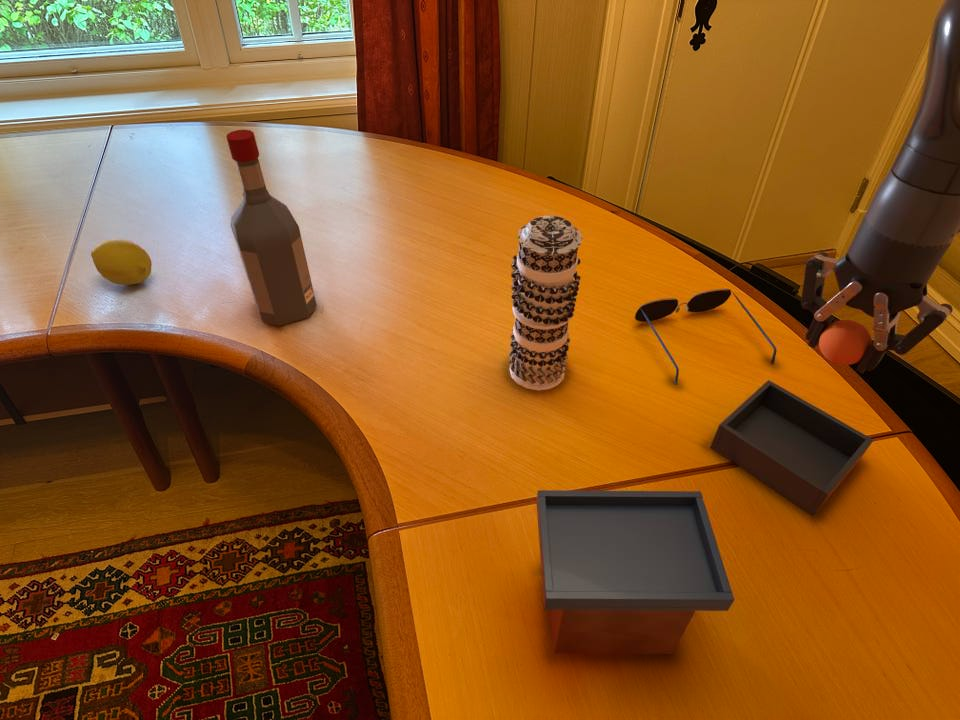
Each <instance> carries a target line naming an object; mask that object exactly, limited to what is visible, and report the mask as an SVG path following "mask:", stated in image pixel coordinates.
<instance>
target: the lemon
mask: <svg viewBox="0 0 960 720" xmlns="http://www.w3.org/2000/svg"><path fill="white" fill-rule="evenodd" d="M90 256H91V258H92V261H93V264H94V266H95V268H96V271H97V272H98V273H99V274H100V275H101V276H102V277H103V278H104V279H105V280H107V281H109V282H110V283H114V284H117V285H121V286H133V285H136V284H140V283H141V284H142V283H143V282H145V281H146V280H147V279H148V278H149V276H150V275H151V273H152V265H153V264H152V259H151V256H150V255H149V253H148V252H147V251H146V249H145V248H143V246H141V245H139V244H138V243H136V242H135V241H132V240H128V239H125V238H111V239H107V240H104V241H102V242H101V243H99V244H98V245H96V246H95V247H94V248H93V249H91V252H90Z"/></svg>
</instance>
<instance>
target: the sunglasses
mask: <svg viewBox="0 0 960 720" xmlns="http://www.w3.org/2000/svg"><path fill="white" fill-rule="evenodd" d="M732 294H733V296H734V297H735V299H736V300H737V302H738V303H739V304H740V306H741V307H742V308H743V310H744V311H745V312H746V314H747V315H748V317H749V318H750V319H751V321H752V322H753V323H754V324H755V326H756V327H757V328H758V330H759V331H760V332H761V334H762V335H763V337H765V340H766V341H767V342H768V343H769V344H770V346H771V347H772V349H773V353H772V357H771V360H770V363H771V364H772V365H775V360H776V356H777V351H778V350H777V347H776V345H775V344H774V342H773V341H772V340H771V338H770V337H769V336H768V335H767V333H766V332H765V330H763V328H762V326H760V324H759V323H758V321H757V320H756V318H754V316H753V315H752V313H750V311H749V310H748V308H747V307H746V306H745V305H744V303H742V301H741V300H740V298H739V297H738V296H737V295H736V294H735V292H733V291H732V289H729V288H717V289H710V290H706V291H702V292H699V293H697V294H695V295H693V296H692V297H691V298H690V299H689V301H688V302H682V303H680V304H679V302H680V301H679V300H678V299H677V298H674V297H667V298H660V299H655V300H651V301H649V302H646V303H643V304H642V305H639V307H638V309H637V310H636V312H635V316H634V320H635V321H638V322H641V323H648V325H649V326H650V328H651V329H652V331H653V333H654V334H655V336H656V338H657V340H658V341H659V343H660V345H661V346H662V348H663V350H664V351H665V353H666V354H667V356H668V358H669V359H670V361H671V363H672V365H673V366H674V368H675V376H674V384H675V385H678V379H679V373H680V370H679V369H680V368H679V366H678V365H677V363H676V361H675V360H674V358H673V356H672V354H671V353H670V351H669V350H668V348H667V346H666V344H665V343H664V341H663V340H662V338H661V336H660V335H659V333H658V332H657V330H656V329H655V327H654V325H653V324H652V322H653V321H659V320H661V319H664V318H665V317H668V316H670V315H672V314H673V313H674V312H675V313H676V314H677V313H679V312H680V310H681V306H682V305H685V310H686V311H687V312H689V313H702V312H708V311H712V310H714V309H717V308H719V307H720V306H722V305H724V304H725V303H726V302H727V301H728V300H729V298H730V297H731V295H732Z"/></svg>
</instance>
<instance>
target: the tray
mask: <svg viewBox="0 0 960 720" xmlns="http://www.w3.org/2000/svg"><path fill="white" fill-rule="evenodd" d="M535 501H536V502H535V503H536V516H537V530H538V542H539V543H538V544H539V557H540V558H539V559H540V572H541V583H542V584H541V587H542V595H543V596H542V599H543V610H544V611H545V610H547V611H551V610H661V611H695V612H728V611H729V610H730V608H731V607H732V605H733V603H734V602H735V596H734V594H733V590H732V588H731V584H730V581H729V578H728V574H727V571H726V568H725V564H724V562H723V558H722V555H721V552H720V548H719V545H718V542H717V540H716V539H717V538H716V536H715V533H714V529H713V527H712V524H711V519H710V517H709V514H708V510H707V507H706V504H705V500H704V498H703V494H702V491H701V490H699V491H698V490H697V491H695V490H692V491H691V490H574V489H573V490H571V489H570V490H561V489H560V490H558V489H557V490H554V489H552V490H550V489H549V490H548V489H547V490H546V489H539V490H538V489H537V493H536V500H535Z"/></svg>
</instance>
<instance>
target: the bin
mask: <svg viewBox="0 0 960 720" xmlns="http://www.w3.org/2000/svg"><path fill="white" fill-rule="evenodd" d="M873 442H874V439H873V438H872V437H870V436H868V435H866V434H864V433H863V432H861V431H859V430H858V429H855V428H854V427H852V426H850V425H848V424H847V423H845V422H843V421H842V420H839V419H838V418H836V417H835V416H833V415H831V414H829V413H827V412H826V411H825V410H822V409H821V408H819V407H817V406H816V405H813V404H812V403H810V402H808V401H806V400H805V399H803V398H802V397H800V396H798V395H796V394H795V393H793V392H791V391H789V390H787V389H786V388H783V387H782V386H780V385H778V384H777V383H775V382H773V381H771V380H770V379H768V380H767V381H766V382H764V383H763V384H762V385H761V386H760V387H759V388H757V390H755V391H754V392H753V393H752V394H751V395H750V396H748V398H747V399H745V400H744V401H743V402H742V403H741V404H740V405H739V406H738V407H736V409H734V410H733V411H732V412H731V413H730V414H729V415H728V416H727V417H726V418H724V420H722V421H721V422H720V423H719V425H718V427H717V429H716V432H715V434H714V437H713V439H712V441H711V443H710V446H709V447H710V448H711V449H713V450H714V451H716V452H717V453H718V454H720V455H721V456H723V457H724V458H725V459H727V460H729V461H730V462H732V464H735V465H736V466H738V467H739V468H741V469H742V470H744V471H745V472H747V473H748V474H750V475H751V476H753V477H754V478H755V479H757V480H758V481H760V482H762V483H763V484H765V486H767V487H768V488H771V490H773V491H775V492H776V493H778V494H779V495H780V496H782V497H784V498H785V499H786V500H788V501H790V502H791V503H793V504H794V505H796V506H797V507H798V508H800V509H802V510H803V511H805V512H806V513H808V514H809V515H811V516H812V517H814V516H816V514H817V513H818V512H819V511H820V509H821V508H822V507H823V506H824V505H825V503H826V502H827V501H828V500H829V499H830V497H831V496H832V495H833V493H834V492H835V491H836V490H837V489H838V488H839V486H841V484H842V483H843V482H844V480H845V479H846V478H847V477H848V476H849V474H850V473H851V472H852V471H853V470H854V468H855V467H856V466H857V464H859V462H860V461H861V459H862V458H863V456H864V454H866V452H867V451H868V449H869V448H870V446H871V445H872V443H873Z"/></svg>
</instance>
